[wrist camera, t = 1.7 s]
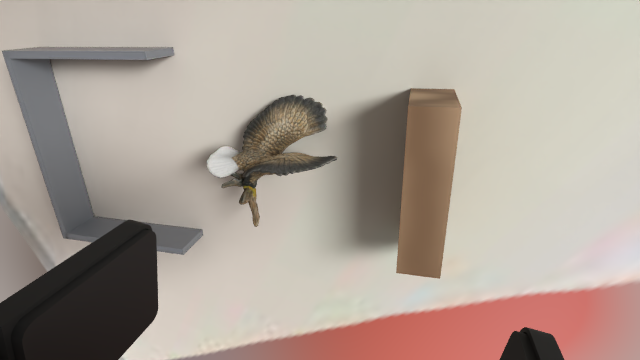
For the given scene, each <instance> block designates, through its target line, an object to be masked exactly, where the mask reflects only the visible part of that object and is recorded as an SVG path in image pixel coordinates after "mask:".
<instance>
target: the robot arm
mask: <svg viewBox="0 0 640 360" xmlns="http://www.w3.org/2000/svg"><path fill="white" fill-rule="evenodd" d="M157 311H158V282H157V239H156V234H155V232H153V231H152V228H151V226H150V225H148V224H144V223H141V222H137V221H133V220H127V221H125V222H123V223H122V224H120V225H118V226H117V227H115V228H114V229H112V230H111V231H109V232H108V233H106V234H105V235H103V236H102V237H100V238H99V239H97V240H96V241H94V242H93V243H91V244H90V245H88V246H86V247H85V248H83V249H82V250H80V251H79V252H77V253H76V254H74V255H73V256H71V257H70V258H68V259H67V260H65V261H64V262H62V263H61V264H59V265H58V266H56V267H54V268H53V269H51V270H50V271H48V272H47V273H45V274H44V275H42V276H41V277H39V278H38V279H36V280H35V281H33V282H32V283H30V284H29V285H27V286H26V287H24V288H23V289H21V290H19V291H18V292H17V293H15V294H13V295H12V296H10V297H9V298H7V299H6V300H4V301H3V302H1V303H0V360H118V359H119V358H120V357H121V356H122V355H123V354H124V353H125V352H126V350H127V349H128V348H129V347H130V346H131V345H132V344H133V343H134V342H135V340H136V339H137V338H138V337H139V336H140V335H141V334H142V333H143V332H144V331H145V329H146V328H147V327H148V326H149V325H150V324H151V323H152V322H153V320H154V319H155V317H156V314H157ZM500 360H564V358H563V356H562V354H561V351H560V349H559V347H558V345H557V342H556V340H555V338H554V337H553V335H551V334H548V333H545V332H541V331H538V330H534V329H530V328H527V327H524V328H523V329H522V330H521V331H520V332H517V331H514V332H513V333H512V334H511V336H510V338H509V340H508V343H507V345H506V347H505V349H504V351H503V353H502V356H501V358H500Z"/></svg>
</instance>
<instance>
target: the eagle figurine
mask: <svg viewBox="0 0 640 360" xmlns="http://www.w3.org/2000/svg"><path fill="white" fill-rule="evenodd" d="M325 113H326V109H325V108H322V103H320V102H314V99H313V98H307V99H305V100H304V99H303V96H298V97H296V96H295V95H291V96H286V97H285V98H284V97H281V98H280V99H279V100H276V101H274V102H273V104H272V105H270V106H269V107H267V108H266V109H265V111H264V112H262V113H261V114H260V115H258V116H257V118H256V119H253V121H251V122H250V124H249V125H248V126H247V129H246V130H245V132H244V133H245V134H244V136H243V138H244V141H243V144H244V146H243V147H242V149H243V151H242V152H239V151H237V150H235V149H233V148H231V147H229V146H223V147H220V148H219V149H218V150H217V151H216V152H214V153H213V154H211V155H210V157H209V159H208V160H207V168H208V170H209V171H210V173H212V174H213V175H214V176H216V177H218V178H224V177H227V176H229V175H231V176H233V177H235V178H236V179H233V180H231V181H229V182H226V183H224V184H222V188H226V187H229V186H239V187H241V186H243V189H244V192H243V194H242V196H241V198H240V200H239V203H240V204H246V203H247V202H248V203H249V205H250V208H251V211H252V214H253V224H254V226H255V227H257V226H258V223H259V218H260V216H259V213H258V206H257V203H256V189H255V187H256V185H257V180H258V179H259V178H260V177H261V176H263V175H266V174H267V175H272V174H276V175H279V176H282V175H288V174H289V173H291V174H293V173H295V172H297V173H298V172H302V171H307V170H312V169H316V168H318V167H321V166H323V165H325V164H328V163H330V162H331V161H335V160H336V159H337V157H335V156H328V157H313V156H309V155H306V154H302V153H284V154H282V152H283V151H284V150H285V149H286V148H287V147H288V146H289V145H291V144H292V143H294V142H296V141H297V140H299V139H301V138H303V137H305V136H309V135H312V134H315V133H318V132H321V131H323V130H325V129H326V125H325V123H326V121H327V117H326V116H324V115H325ZM240 170H243V171H244V173H243V174H238V173H235V172H236V171H240Z"/></svg>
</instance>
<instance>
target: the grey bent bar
mask: <svg viewBox="0 0 640 360" xmlns="http://www.w3.org/2000/svg"><path fill="white" fill-rule="evenodd" d="M2 53H3V56H4V59H5V62H6V65H7V68H8V71H9V74H10V77H11V80H12V83H13V86H14V89H15V92H16V95H17V98H18V101H19V104H20V108H21V111H22V114H23V117H24V120H25V123H26V126H27V129H28V132H29V135H30V138H31V141H32V144H33V147H34V150H35V153H36V156H37V159H38V162H39V165H40V168H41V171H42V174H43V177H44V181H45V184H46V187H47V190H48V193H49V196H50V199H51V202H52V205H53V208H54V211H55V214H56V217H57V220H58V223H59V226H60V229H61V232H62V235H63V238H66V239H73V240H80V241H88V242H94V241H96V240H97V239H99V238H100V237H102V236H103V235H105V234H106V233H108V232H109V231H111V230H112V229H114V228H115V227H117V226H118V225H120V224H122V223H123V222H125V221H126V220H118V219H110V218H101V217H94V215H93V211H92V208H91V204H90V201H89V197H88V194H87V190H86V187H85V183H84V180H83V176H82V173H81V169H80V166H79V162H78V158H77V155H76V151H75V148H74V144H73V141H72V137H71V134H70V130H69V127H68V123H67V120H66V116H65V113H64V109H63V106H62V102H61V99H60V95H59V92H58V88H57V85H56V81H55V78H54V74H53V71H52V67H51V64H50V60H49V59H103V60H150V59H155V58H161V57H167V56H173V55H174V50H173V47H37V48H26V49H15V50H4V51H2ZM141 223H143V222H141ZM144 224H148V225H150V226H151V228H152V231H153V232H155V234H156V239H157V251H160V252H167V253H174V254H182V255H184V254H185V253H186V252H187V251H188V250H189V249H190V248H191V247H192V246H193V245H194V244H195V243H196V242H197V241H198V240H199V239H200V238H201V237H202V235H203V231H202V230H201V229H193V228H184V227H176V226H168V225H159V224H151V223H144Z"/></svg>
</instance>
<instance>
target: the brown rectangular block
mask: <svg viewBox="0 0 640 360" xmlns="http://www.w3.org/2000/svg"><path fill="white" fill-rule="evenodd" d="M461 109H462V108H461V105H460V103H459V100H458V98H457V95H456V93H455V90H454V89H411V91H410V98H409V104H408V115H407V129H406V143H405V157H404V172H403V186H402V200H401V214H400V228H399V242H398V256H397V271H396V273H401V274H409V275H416V276H424V277H432V278H440V275H441V267H442V259H443V251H444V243H445V235H446V227H447V220H448V212H449V204H450V196H451V188H452V180H453V172H454V164H455V156H456V149H457V141H458V133H459V125H460V117H461Z"/></svg>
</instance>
